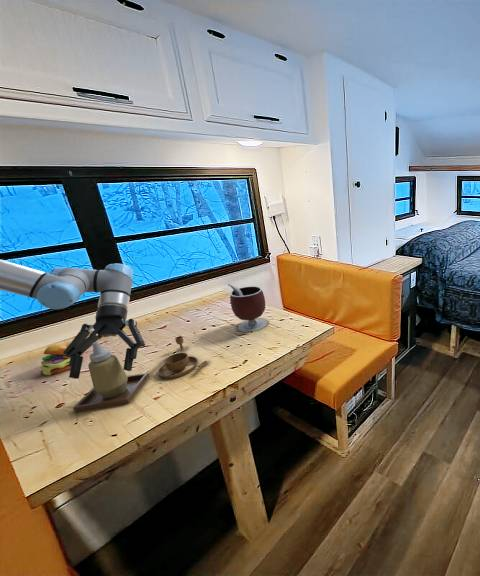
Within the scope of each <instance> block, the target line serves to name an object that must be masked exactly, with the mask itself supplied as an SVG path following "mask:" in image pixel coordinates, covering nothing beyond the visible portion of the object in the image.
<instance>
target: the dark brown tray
mask: <svg viewBox="0 0 480 576" xmlns="http://www.w3.org/2000/svg"><path fill="white" fill-rule="evenodd" d="M127 377H128V379H127V389H126V390H125V392H123V393H122V394H120V395H118V396H116V397H112V398H104V397H102V396H101V395H100V394H99V393H98V392H96V391H95V390H94V387H93V386H92V388H91V389H90V390H89V391H88V392H87V393H86V394H85V395H84V396H83V397H82V398H81V399H80V400H79V401H78V402H77V403H76V404H75V405H74V406H73V407H72V409H73V411H74V413H79V412H86V411H91V410H96V409H97V410H98V409H102V408H103V409H104V408H109V407H115V406H122V405H127V404H130V402H131V401H132V400H133V399H134V398H135V396H136V395H137V394H138V392H140V390H141V388H142V387H143V386H144V384H145V383H146V382H147V380H148V379H149V378H150V374H149V372H143V373H137V374H131V375H127Z"/></svg>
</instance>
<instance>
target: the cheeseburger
mask: <svg viewBox="0 0 480 576" xmlns="http://www.w3.org/2000/svg"><path fill="white" fill-rule="evenodd" d="M69 344H70V343H67V344H66V345H61V344H53V345H49V346H47V347H46V348H45V349H44V351H43V355H45V356H43V357H42V358H41V362H40V364H41V366H40V369H41V370H42V373H43V375H45V376H52V375H54V374H58V373H59V374H60V373H62V372H64V371H68V370H71V367H69V362H70V357H71V356H69V355H66V354H63V352H64V351H65V349H66V348H67V347H68V346H69Z"/></svg>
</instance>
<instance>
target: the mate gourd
mask: <svg viewBox="0 0 480 576" xmlns="http://www.w3.org/2000/svg"><path fill="white" fill-rule="evenodd" d="M227 286H229V287H230V288H231V289H232V290H231V291H230V292H229V303H230V306H231V307H230V308H231V310H232V313H233V315H234V316H235V317H236V318H238V319H239V320H241V321H243V322H241V323H240V324H239V325H238V327H237V329H238V331H240V332H243V333H252V332H256V331H259V330H261V329H263V328H265V327H266V326H267V325H268V321H267V320H266V319H264V318H263V319H262V318H260V317H262V315H263V314H264V312H265V311H266V298H265V294H264V291H263V288H262V287H260V286H257V285H256V286H255V285H249V286H242V287H237V286H236V285H233V284H231V283H227Z"/></svg>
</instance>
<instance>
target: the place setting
mask: <svg viewBox="0 0 480 576" xmlns="http://www.w3.org/2000/svg"><path fill="white" fill-rule="evenodd" d="M174 340H175V343H176V344H177V345H179V349H180V350H179V351H180V352H178V353H174V354H171V355H169V356H167V357H166V358H165V359H164V360H163V361H162V362H164V364H162V365H161V366H160V367H159V368H158V369H157V373H158V375H159V376H160V377H162V378H164V379H175V378H179V377H182V376H185V375H187V374H189V373H191V372H192V371H193V370H195V369H196V368H197V366H198V364H199V359H198V357H196V356H192V355H189V354H188V353H187V352H183V351H185V348H184V346H183V344H184V341H185V340H184V337H183V336H182V335H178V336H175V338H174ZM207 363H208V361H207V360H204V361H203V362H201V363H200V365H199V368H198V369H197V370H196V371H195V372H194V373H193V375H192V376H193V377H194V376H196V375H197V374H198V372H199V371H200V370H201V368H203V367H205V366H206V365H207ZM186 367H187V368H188V367H190V368H188V369H187V370H184V369H186ZM167 371H172V372H179V373H175V374H168V375H167V374H166V375H165V374H164V372H167ZM180 371H182V372H180Z"/></svg>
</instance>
